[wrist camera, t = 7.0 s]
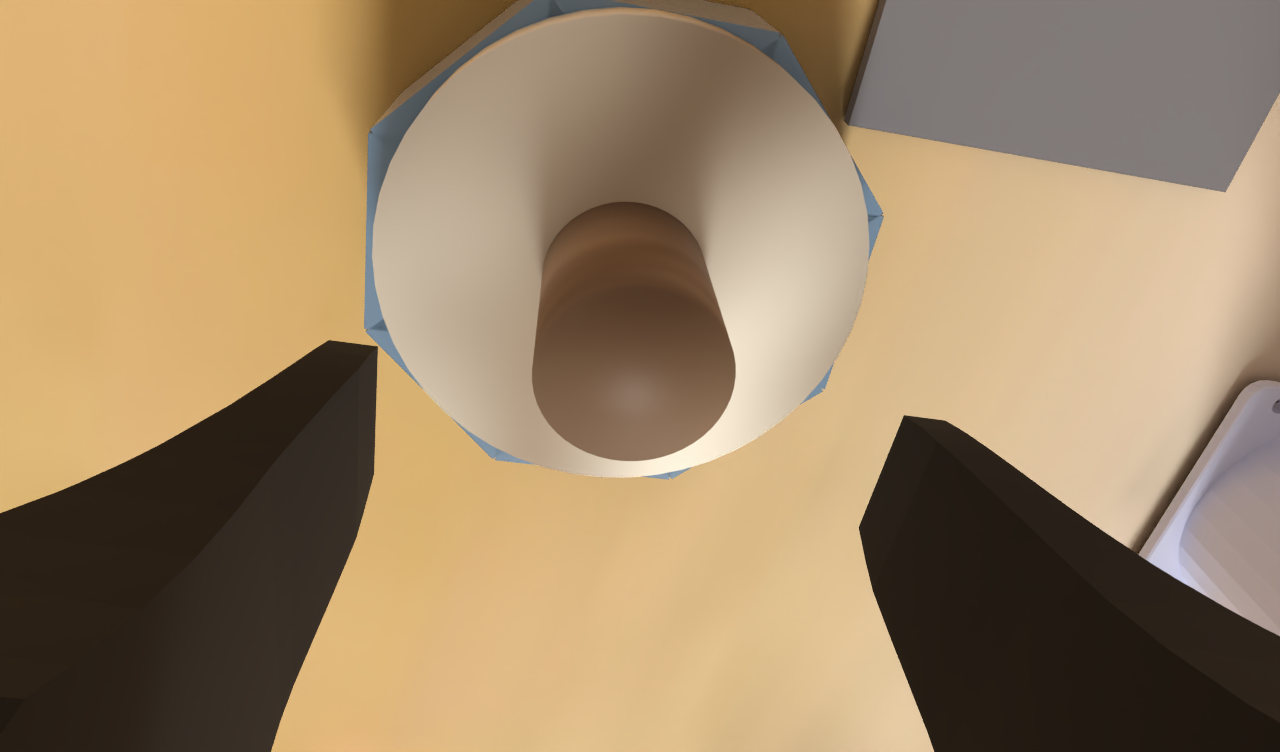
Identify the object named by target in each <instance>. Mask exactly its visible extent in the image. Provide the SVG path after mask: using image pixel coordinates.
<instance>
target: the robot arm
mask: <svg viewBox="0 0 1280 752" xmlns="http://www.w3.org/2000/svg"><path fill="white" fill-rule="evenodd" d="M377 355H378V347H377V346H369V345H361V344H354V343H346V342H338V341H331V340H329V341H327V342H325V343H324V344H322V345H320V346H319V347H317V348H316V349H314V350H313V351H311V352H310V353H308V354H307V355H305V356H304V357H302V358H301V359H299V360H298V361H297V362H295V363H294V364H292V365H291V366H289V367H288V368H286V369H285V370H283V371H282V372H280V373H279V374H277V375H276V376H274V377H273V378H271V379H270V380H268V381H266V382H265V383H263V384H262V385H260V386H259V387H257V388H256V389H254V390H252V391H251V392H249V393H248V394H246V395H245V396H243V397H242V398H240V399H238V400H237V401H235V402H234V403H232V404H231V405H229V406H227V407H226V408H224V409H222V410H220V411H219V412H217V413H215V414H213V415H212V416H210V417H208V418H206V419H205V420H203V421H201V422H199V423H198V424H196V425H194V426H192V427H190V428H189V429H187V430H185V431H183V432H182V433H180V434H178V435H176V436H175V437H173V438H171V439H169V440H168V441H166V442H164V443H162V444H160V445H158V446H157V447H155V448H153V449H151V450H149V451H147V452H145V453H143V454H141V455H139V456H137V457H135V458H133V459H131V460H128V461H126V462H124V463H122V464H120V465H118V466H116V467H114V468H111V469H109V470H107V471H105V472H102V473H100V474H98V475H96V476H94V477H91V478H89V479H87V480H85V481H82V482H80V483H78V484H76V485H73V486H71V487H68V488H66V489H64V490H61V491H59V492H56V493H54V494H51V495H48V496H46V497H43V498H40V499H37V500H35V501H32V502H29V503H27V504H24V505H21V506H19V507H16V508H13V509H11V510H8V511H5V512H3V513H0V752H271V749H272V746H273V743H274V740H275V736H276V733H277V730H278V727H279V723H280V720H281V717H282V715H283V712H284V709H285V707H286V704H287V702H288V699H289V696H290V694H291V691H292V688H293V686H294V683H295V681H296V678H297V676H298V674H299V671H300V669H301V667H302V664H303V662H304V660H305V657H306V655H307V653H308V650H309V648H310V646H311V643H312V641H313V639H314V636H315V634H316V632H317V629H318V627H319V625H320V622H321V620H322V618H323V615H324V613H325V611H326V608H327V606H328V604H329V601H330V599H331V597H332V595H333V592H334V590H335V587H336V585H337V583H338V580H339V578H340V576H341V573H342V571H343V569H344V566H345V564H346V561H347V559H348V557H349V554H350V552H351V549H352V547H353V545H354V542H355V540H356V537H357V533H358V530H359V526H360V523H361V519H362V516H363V512H364V509H365V505H366V501H367V498H368V494H369V490H370V486H371V483H372V479H373V475H374V453H375V420H376V387H377ZM1279 399H1280V382H1278V381H1271V380H1259V381H1256V382H1254V383H1251V384H1250V385H1248V386H1247V387H1245V388H1244V389H1243V390H1242V392H1241V393H1240V394H1239V396H1238V397H1237V399H1236V401H1235V402H1234V404H1233V405H1232V407H1231V409H1230V410H1229V412H1228V413H1227V415H1226V416H1225V418H1224V420H1223V421H1222V423H1221V424H1220V426H1219V428H1218V429H1217V431H1216V432H1215V434H1214V435H1213V437H1212V439H1211V440H1210V442H1209V443H1208V445H1207V447H1206V448H1205V450H1204V451H1203V453H1202V454H1201V456H1200V458H1199V459H1198V461H1197V462H1196V464H1195V466H1194V467H1193V469H1192V470H1191V472H1190V473H1189V475H1188V477H1187V478H1186V480H1185V481H1184V483H1183V485H1182V486H1181V488H1180V489H1179V491H1178V492H1177V494H1176V496H1175V497H1174V499H1173V500H1172V502H1171V504H1170V505H1169V507H1168V508H1167V510H1166V511H1165V513H1164V515H1163V516H1162V518H1161V519H1160V521H1159V523H1158V524H1157V526H1156V527H1155V529H1154V530H1153V532H1152V534H1151V535H1150V537H1149V538H1148V540H1147V542H1146V543H1145V545H1144V546H1143V548H1142V549H1141V551H1140V553H1139V554H1136V553H1135V552H1133V551H1132V550H1130V549H1129V548H1127V547H1126V546H1124V545H1123V544H1121V543H1120V542H1118V541H1117V540H1115V539H1114V538H1112V537H1111V536H1109V535H1108V534H1106V533H1105V532H1103V531H1102V530H1100V529H1099V528H1098V527H1096V526H1095V525H1093V524H1092V523H1090V522H1089V521H1088V520H1086V519H1085V518H1083V517H1082V516H1080V515H1079V514H1078V513H1076V512H1075V511H1073V510H1072V509H1071V508H1069V507H1068V506H1066V505H1065V504H1064V503H1062V502H1061V501H1060V500H1058V499H1057V498H1055V497H1054V496H1053V495H1051V494H1050V493H1049V492H1047V491H1046V490H1044V489H1043V488H1042V487H1040V486H1039V485H1038V484H1036V483H1035V482H1034V481H1032V480H1031V479H1029V478H1028V477H1027V476H1025V475H1024V474H1023V473H1021V472H1020V471H1019V470H1017V469H1016V468H1015V467H1013V466H1012V465H1010V464H1009V463H1008V462H1006V461H1005V460H1004V459H1002V458H1001V457H1000V456H998V455H997V454H995V453H994V452H993V451H991V450H990V449H988V448H987V447H986V446H984V445H983V444H981V443H980V442H978V441H977V440H976V439H974V438H973V437H971V436H970V435H968V434H967V433H965V432H963V431H962V430H960V429H959V428H957V427H955V426H953V425H952V424H950V423H948V422H946V421H943V420H936V419H928V418H920V417H913V416H905V415H904V417H903V419H902V422H901V424H900V427H899V429H898V432H897V434H896V437H895V439H894V442H893V444H892V447H891V449H890V451H889V454H888V456H887V459H886V461H885V464H884V466H883V469H882V471H881V474H880V476H879V479H878V481H877V484H876V486H875V489H874V491H873V494H872V496H871V499H870V501H869V504H868V506H867V509H866V511H865V514H864V516H863V518H862V521H861V523H860V526H859V531H860V535H861V540H862V545H863V550H864V555H865V560H866V564H867V568H868V573H869V577H870V581H871V585H872V589H873V592H874V595H875V597H876V600H877V603H878V606H879V608H880V611H881V614H882V616H883V619H884V622H885V624H886V627H887V629H888V632H889V635H890V637H891V640H892V643H893V645H894V648H895V650H896V653H897V655H898V658H899V660H900V663H901V665H902V668H903V671H904V673H905V676H906V678H907V681H908V683H909V686H910V688H911V691H912V693H913V696H914V699H915V701H916V704H917V706H918V709H919V711H920V714H921V716H922V719H923V722H924V724H925V727H926V729H927V732H928V735H929V737H930V740H931V743H932V746H933V749H934V752H1280V400H1279ZM1277 400H1279V401H1278V402H1277V403H1275V402H1276V401H1277ZM1274 403H1275V404H1274Z"/></svg>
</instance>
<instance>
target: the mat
mask: <svg viewBox="0 0 1280 752" xmlns="http://www.w3.org/2000/svg"><path fill="white" fill-rule="evenodd" d="M1279 93H1280V0H880V1H879V4H878V7H877V11H876V14H875V17H874V21H873V24H872V27H871V31H870V34H869V37H868V41H867V44H866V47H865V51H864V54H863V57H862V61H861V64H860V67H859V71H858V74H857V78H856V81H855V84H854V88H853V91H852V94H851V98H850V101H849V104H848V108H847V111H846V114H845V118H844V121H845V122H846V123H847V124H848V125H850V126H856V127H862V128H867V129H873V130H878V131H884V132H890V133H895V134H901V135H907V136H912V137H918V138H923V139H929V140H935V141H940V142H946V143H952V144H957V145H963V146H968V147H974V148H980V149H985V150H991V151H996V152H1002V153H1008V154H1013V155H1019V156H1025V157H1030V158H1036V159H1041V160H1047V161H1053V162H1058V163H1064V164H1070V165H1075V166H1081V167H1086V168H1092V169H1098V170H1103V171H1109V172H1115V173H1120V174H1126V175H1131V176H1137V177H1143V178H1148V179H1154V180H1160V181H1165V182H1171V183H1176V184H1182V185H1188V186H1193V187H1199V188H1205V189H1210V190H1216V191H1221V192H1226V190H1227V188H1228V186H1229V185H1230V183H1231V181H1232V179H1233V177H1234V175H1235V174H1236V172H1237V170H1238V168H1239V166H1240V164H1241V163H1242V161H1243V159H1244V157H1245V155H1246V153H1247V152H1248V150H1249V148H1250V146H1251V144H1252V142H1253V141H1254V139H1255V137H1256V135H1257V133H1258V131H1259V130H1260V128H1261V126H1262V124H1263V122H1264V120H1265V119H1266V117H1267V115H1268V113H1269V111H1270V109H1271V108H1272V106H1273V104H1274V102H1275V100H1276V98H1277V97H1278V95H1279Z"/></svg>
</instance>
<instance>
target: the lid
mask: <svg viewBox="0 0 1280 752" xmlns="http://www.w3.org/2000/svg"><path fill="white" fill-rule="evenodd" d="M868 258H869V229H868V214H867V209H866V205H865V200H864V195H863V190H862V185H861V182H860V180H859V177H858V174H857V171H856V169H855V166H854V163H853V160H852V158H851V155H850V153H849V151H848V149H847V147H846V146H845V144H844V142H843V140H842V138H841V136H840V135H839V133H838V131H837V129H836V127H835V126H834V124H833V123H832V122H831V120H830V119H829V118H828V116H827V115H826V114H825V112H824V111H823V110H822V108H821V107H820V106H819V104H818V103H817V102H816V100H815V99H814V98H813V97H812V96H811V95H810V94H809V93H808V92H807V91H806V90H805V89H804V88H803V87H802V86H801V85H800V84H799V83H798V82H797V81H796V80H795V79H794V78H793V77H792V76H791V75H790V74H789V73H788V72H787V71H785V70H784V69H783V68H782V67H781V66H780V65H779V64H778V63H777V62H775V61H774V60H773V59H771V58H770V57H769V56H767V55H766V54H764V53H763V52H762V51H760V50H759V49H758V48H756V47H755V46H754V45H752V44H751V43H749V42H747V41H745V40H743V39H741V38H739V37H738V36H736V35H734V34H732V33H730V32H728V31H726V30H724V29H723V28H720V27H718V26H715V25H712V24H709V23H707V22H704V21H701V20H698V19H696V18H693V17H690V16H686V15H681V14H676V13H671V12H667V11H662V10H657V9H646V8H630V7H611V8H598V9H586V10H580V11H576V12H571V13H567V14H562V15H558V16H554V17H549V18H547V19H544V20H541V21H539V22H536V23H534V24H531V25H528V26H526V27H523V28H520V29H518V30H516V31H514V32H512V33H510V34H508V35H507V36H505V37H503V38H501V39H499V40H498V41H496V42H494V43H492V44H490V45H489V46H487V47H485V48H484V49H483V50H481V51H480V52H479V53H477V54H476V55H475V56H473V57H472V58H471V59H470V60H468V61H467V62H466V63H464V64H463V65H462V66H460V67H459V68H458V69H457V70H456V71H455V72H454V73H453V74H452V75H451V76H450V77H449V78H448V79H447V80H446V81H445V82H444V83H443V84H442V85H441V86H440V87H439V88H438V89H437V90H436V92H435V93H434V94H433V96H432V97H431V98H430V100H429V101H428V102H427V104H426V105H425V107H424V108H423V109H422V111H421V112H420V113H419V115H418V116H417V118H416V119H415V120H414V122H413V123H412V125H411V126H410V128H409V129H408V130H407V132H406V133H405V135H404V137H403V139H402V141H401V143H400V145H399V147H398V149H397V150H396V152H395V154H394V156H393V158H392V160H391V162H390V164H389V167H388V170H387V173H386V176H385V179H384V182H383V185H382V187H381V190H380V193H379V198H378V203H377V208H376V214H375V219H374V224H373V245H372V261H373V270H374V280H375V288H376V292H377V296H378V300H379V304H380V308H381V312H382V316H383V319H384V321H385V324H386V326H387V329H388V331H389V334H390V336H391V339H392V341H393V343H394V345H395V347H396V349H397V351H398V352H399V354H400V356H401V358H402V359H403V361H404V363H405V365H406V366H407V368H408V370H409V371H410V372H411V374H412V375H413V376H414V378H415V379H416V380H417V382H418V383H419V384H420V386H421V387H422V388H423V390H424V391H425V392H426V393H427V394H428V395H429V396H430V397H431V398H432V399H433V400H434V402H435V403H436V404H437V405H438V406H439V407H440V408H441V409H442V410H443V411H444V412H445V413H446V414H448V415H449V416H450V417H451V418H453V419H454V420H455V421H456V422H458V423H459V424H460V425H461V426H462V427H464V428H465V429H466V430H467V431H469V432H471V433H472V434H474V435H475V436H477V437H478V438H480V439H482V440H483V441H485V442H486V443H488V444H490V445H491V446H493V447H495V448H497V449H499V450H501V451H504V452H506V453H508V454H510V455H512V456H514V457H516V458H519V459H521V460H524V461H527V462H530V463H533V464H536V465H539V466H541V467H545V468H549V469H553V470H557V471H562V472H566V473H570V474H578V475H586V476H594V477H624V478H627V477H639V476H650V475H658V474H663V473H668V472H673V471H678V470H683V469H686V468H690V467H693V466H696V465H699V464H703V463H706V462H709V461H711V460H714V459H716V458H718V457H721V456H723V455H725V454H728V453H730V452H732V451H735V450H737V449H738V448H740V447H742V446H744V445H746V444H747V443H749V442H751V441H753V440H754V439H756V438H758V437H760V436H761V435H762V434H764V433H765V432H767V431H768V430H769V429H771V428H772V427H774V426H775V425H776V424H778V423H779V422H781V421H782V420H783V419H784V418H785V417H786V416H788V415H789V414H790V413H791V412H792V411H793V410H794V409H795V408H796V407H797V406H799V405H800V404H801V403H802V402H803V401H804V400H805V399H806V398H807V396H808V395H809V394H810V393H811V392H812V391H813V390H814V388H815V387H816V386H817V385H818V384H819V383H820V382H821V380H822V379H823V378H824V376H825V375H826V373H827V372H828V370H829V369H830V367H831V366H832V364H833V363H834V362H835V360H836V359H837V357H838V355H839V353H840V351H841V350H842V348H843V346H844V344H845V342H846V340H847V338H848V336H849V334H850V332H851V330H852V327H853V324H854V321H855V319H856V316H857V313H858V310H859V308H860V305H861V301H862V296H863V292H864V287H865V283H866V278H867V271H868Z"/></svg>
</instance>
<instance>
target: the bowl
mask: <svg viewBox="0 0 1280 752" xmlns="http://www.w3.org/2000/svg"><path fill="white" fill-rule="evenodd" d="M611 7H630V8H646V9H657V10H662V11H667V12H671V13H676V14H681V15H686V16H690V17H693V18H696V19H698V20H701V21H704V22H707V23H709V24H712V25H715V26H718V27H720V28H723V29H724V30H726V31H728V32H730V33H732V34H734V35H736V36H738V37H739V38H741V39H743V40H745V41H747V42H749V43H751V44H752V45H754V46H755V47H756V48H758V49H759V50H760V51H762V52H763V53H764V54H766V55H767V56H769V57H770V58H771V59H773V60H774V61H775V62H777V63H778V64H779V65H780V66H781V67H782V68H783V69H784V70H785V71H787V72H788V73H789V74H790V75H791V76H792V77H793V78H794V79H795V80H796V81H797V82H798V83H799V84H800V85H801V86H802V87H803V88H804V89H805V90H806V91H807V92H808V93H809V94H810V95H811V96H812V97H813V98H814V99H815V100H816V102H817V103H818V104H819V106H820V107H821V108H822V110H823V111H824V112H825V114H826V115H827V116H828V114H827V112H826V110H825V109H824V107H823V105H822V103H821V101H820V100H819V98H818V96H817V94H816V93H815V91H814V89H813V87H812V85H811V84H810V82H809V80H808V78H807V77H806V75H805V73H804V71H803V69H802V68H801V66H800V64H799V62H798V61H797V59H796V57H795V55H794V53H793V52H792V50H791V48H790V46H789V44H788V43H787V41H786V39H785V37H784V36H783V34H781V33H780V32H779V31H777V30H776V29H775V28H774V27H772V26H771V25H770V24H768V23H767V22H766V21H765V20H763V19H762V18H761V17H760V16H758V15H757V14H756V13H754V12H753V11H752V10H750V9H747V8H741V7H736V6H731V5H726V4H721V3H716V2H711V1H705V0H517V1H516V2H515V3H514V4H512V5H511V6H510V7H509V8H507V9H506V10H505V11H503V12H502V13H501V14H500V15H498V16H497V17H496V18H495V19H493V20H492V21H491V22H490V23H488V24H487V25H486V26H485V27H483V28H482V29H481V30H480V31H478V32H477V33H476V34H475V35H473V36H472V37H471V38H469V39H468V40H467V41H466V42H464V43H463V44H462V45H461V46H459V47H458V48H457V49H456V50H454V51H453V52H452V53H451V54H449V55H448V56H447V57H446V58H444V59H443V60H442V61H441V62H439V63H438V64H437V65H436V66H434V67H433V68H432V69H430V70H429V71H428V72H427V73H425V74H424V75H423V76H422V77H420V78H419V79H418V80H417V81H415V82H414V83H413V84H412V85H410V86H409V87H408V88H407V89H405V90H404V91H403V92H402V93H401V94H400V95H399V96H398V97H397V99H396V100H395V101H394V102H393V103H392V104H391V106H390V107H389V108H388V109H387V110H386V111H385V113H384V114H383V115H382V116H381V117H380V118H379V120H378V121H377V122H376V123H375V124H374V125H373V127H372V128H371V129H370V132H369V133H368V173H367V221H366V269H365V316H364V329H367V330H366V333H367V334H368V335H369V336H370V337H371V338H372V339H373V340H374V341H375V342H376V343H377V344H378V345H379V346H380V347H381V348H382V349H383V350H384V351H385V352H386V353H387V354H388V355H389V356H390V357H391V358H392V359H393V360H394V361H395V362H396V363H397V364H398V365H399V366H400V367H401V368H402V369H403V370H404V371H405V372H406V373H407V374H408V375H409V376H410V377H411V378H412V379H413V380H414V381H415V382H416V383H417V384H418V385H419V386H420V384H419V383H418V382H417V380H416V379H415V378H414V376H413V375H412V374H411V372H410V371H409V370H408V368H407V366H406V365H405V363H404V361H403V359H402V358H401V356H400V354H399V352H398V351H397V349H396V347H395V345H394V343H393V341H392V339H391V336H390V334H389V331H388V329H387V326H386V324H385V321H384V319H383V316H382V312H381V308H380V304H379V300H378V296H377V292H376V288H375V280H374V270H373V261H372V245H373V224H374V219H375V214H376V208H377V203H378V198H379V193H380V190H381V187H382V185H383V182H384V179H385V176H386V173H387V170H388V167H389V164H390V162H391V160H392V158H393V156H394V154H395V152H396V150H397V149H398V147H399V145H400V143H401V141H402V139H403V137H404V135H405V133H406V132H407V130H408V129H409V128H410V126H411V125H412V123H413V122H414V120H415V119H416V118H417V116H418V115H419V113H420V112H421V111H422V109H423V108H424V107H425V105H426V104H427V102H428V101H429V100H430V98H431V97H432V96H433V94H434V93H435V92H436V90H437V89H438V88H439V87H440V86H441V85H442V84H443V83H444V82H445V81H446V80H447V79H448V78H449V77H450V76H451V75H452V74H453V73H454V72H455V71H456V70H457V69H458V68H459V67H460V66H462V65H463V64H464V63H466V62H467V61H468V60H470V59H471V58H472V57H473V56H475V55H476V54H477V53H479V52H480V51H481V50H483V49H484V48H485V47H487V46H489V45H490V44H492V43H494V42H496V41H498V40H499V39H501V38H503V37H505V36H507V35H508V34H510V33H512V32H514V31H516V30H518V29H520V28H523V27H526V26H528V25H531V24H534V23H536V22H539V21H541V20H544V19H547V18H549V17H554V16H558V15H562V14H567V13H571V12H576V11H580V10H586V9H598V8H611ZM828 118H829V119H830V117H829V116H828ZM830 120H831V119H830ZM831 122H832V121H831ZM851 158H852V157H851ZM852 160H853V158H852ZM853 163H854V166H855V169H856V171H857V174H858V177H859V180H860V182H861V185H862V190H863V195H864V200H865V205H866V209H867V214H868V229H869V258H870V255H871V252H872V249H873V247H874V244H875V241H876V238H877V235H878V232H879V229H880V226H881V223H882V220H883V216H882V214H883V212H882V210H881V208H880V206H879V205H878V203H877V201H876V199H875V197H874V196H873V194H872V192H871V190H870V189H869V187H868V185H867V183H866V181H865V180H864V178H863V176H862V174H861V173H860V171H859V169H858V167H857V165H856V164H855V162H854V160H853ZM869 258H868V261H869ZM833 364H834V363H833ZM833 364H832V366H831V367H830V369H829V370H828V372H827V373H826V375H825V376H824V378H823V379H822V380H821V382H820V383H819V384H818V385H817V386H816V387H815V388H814V390H813V391H812V392H811V393H810V394H809V395H808V396H807V398H806V399H805V400H804V401H803V402H802V403H804V402H805V401H807V400H809V399H810V398H812V397H814V396H816V395H817V394H819V393H821V392H823V391H822V389H825V387H826V384H827V381H828V378H829V375H830V372H831V370H832V367H833ZM420 387H421V386H420ZM421 388H422V387H421ZM422 389H423V388H422ZM802 403H801V404H802ZM452 419H453V418H452ZM453 420H454V419H453ZM454 421H455V420H454ZM455 422H456V421H455ZM456 423H457V424H458V425H459V426H460V427H461V428H462V429H463V430H464V431H465V432H466V433H467V434H468V435H469V436H470V437H471V438H472V439H473V440H474V441H475V442H476V443H477V444H478V445H479V446H480V447H481V448H482V449H483V450H484V451H485V452H486V453H487V454H488V455H489V456H490V457H491V458H492V459H493V458H494V457H496V458H495V460H498V461H507V462H516V463H525V464H533V463H530V462H527V461H524V460H521V459H519V458H516V457H514V456H512V455H510V454H508V453H506V452H504V451H501V450H499V449H497V448H495V447H493V446H491V445H490V444H488V443H486V442H485V441H483V440H482V439H480V438H478V437H477V436H475V435H474V434H472V433H471V432H469V431H467V430H466V429H465V428H464V427H462V426H461V425H460V424H459V423H458V422H456ZM534 465H536V464H534ZM690 468H692V467H690ZM690 468H686V469H683V470H678V471H673V472H668V473H663V474H658V475H650V476H641V477H650V478H659V479H668V480H669V476H670V477H671V479H673V478H674V477H676V476H678V475H679V474H681V473H683V472H685V471H686V470H688V469H690Z"/></svg>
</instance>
